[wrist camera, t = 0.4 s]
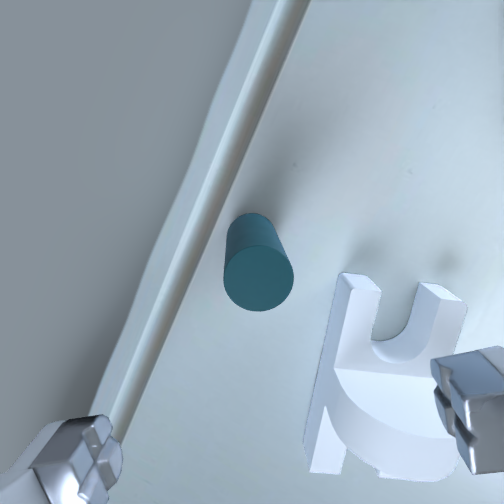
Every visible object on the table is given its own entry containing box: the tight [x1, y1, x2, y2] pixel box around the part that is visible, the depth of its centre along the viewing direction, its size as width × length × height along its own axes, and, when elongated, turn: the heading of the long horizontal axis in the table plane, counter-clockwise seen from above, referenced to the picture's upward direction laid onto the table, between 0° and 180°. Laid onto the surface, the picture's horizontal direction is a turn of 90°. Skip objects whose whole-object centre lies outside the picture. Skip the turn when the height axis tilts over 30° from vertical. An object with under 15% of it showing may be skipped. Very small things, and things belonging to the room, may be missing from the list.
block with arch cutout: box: [303, 273, 468, 482], centre depth 31 cm, size 18×10×11 cm, turn 172°
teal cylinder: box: [223, 213, 294, 311], centre depth 27 cm, size 4×4×11 cm
